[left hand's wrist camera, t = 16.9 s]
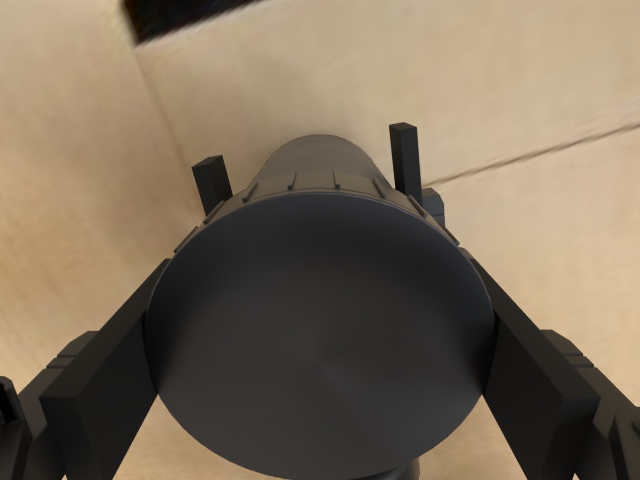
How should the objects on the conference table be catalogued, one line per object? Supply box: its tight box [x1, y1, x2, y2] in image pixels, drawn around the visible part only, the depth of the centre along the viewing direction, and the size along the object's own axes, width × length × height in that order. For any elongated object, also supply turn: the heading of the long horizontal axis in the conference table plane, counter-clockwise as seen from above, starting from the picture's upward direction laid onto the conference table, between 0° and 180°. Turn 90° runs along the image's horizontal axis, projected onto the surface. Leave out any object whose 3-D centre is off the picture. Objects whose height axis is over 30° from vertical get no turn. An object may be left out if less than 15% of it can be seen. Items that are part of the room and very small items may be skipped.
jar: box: [248, 135, 392, 188], centre depth 18 cm, size 9×9×16 cm
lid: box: [144, 170, 496, 480], centre depth 11 cm, size 10×10×2 cm
